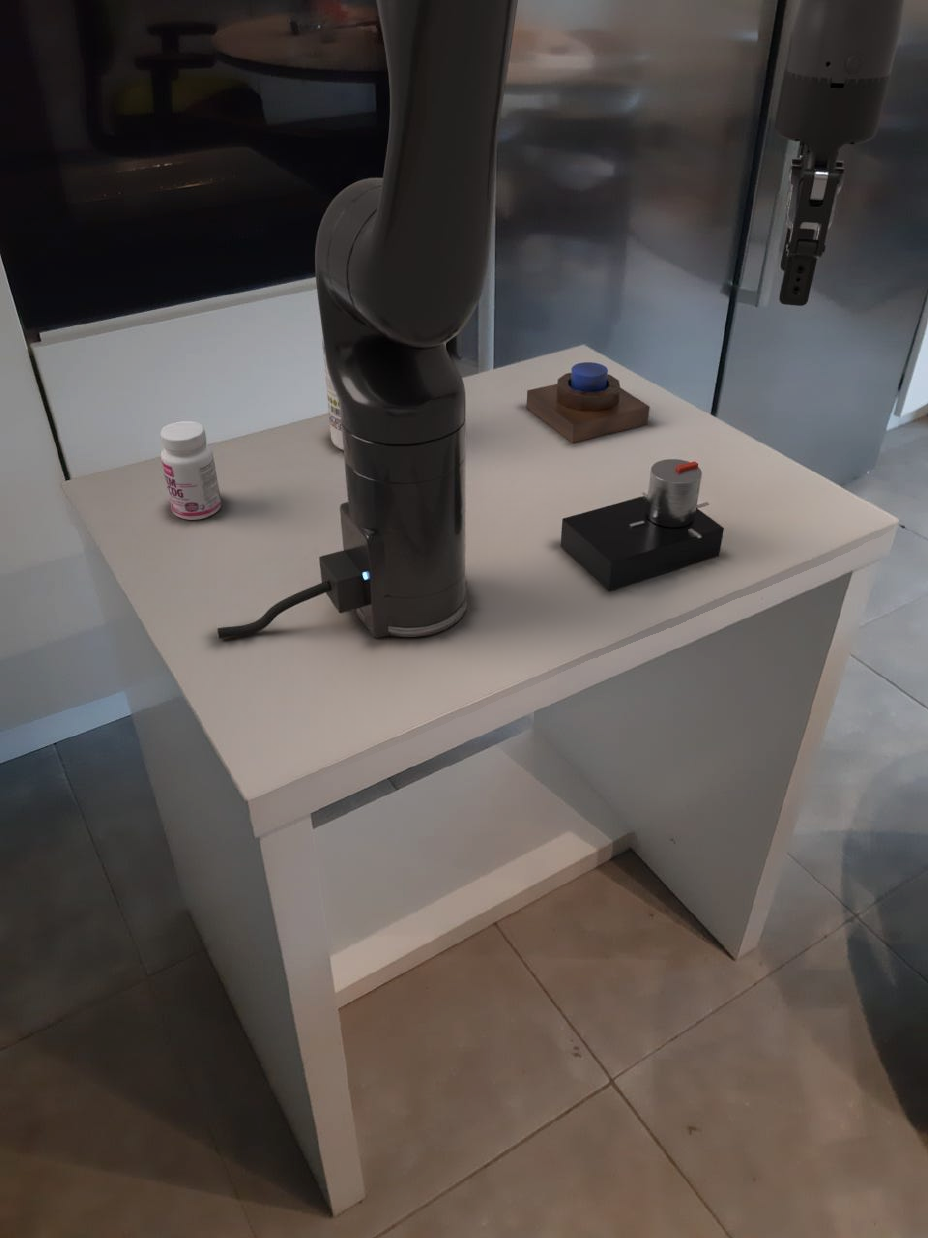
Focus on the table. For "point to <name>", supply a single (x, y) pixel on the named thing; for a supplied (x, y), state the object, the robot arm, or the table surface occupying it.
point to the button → (589, 377)
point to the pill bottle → (189, 471)
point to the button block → (587, 409)
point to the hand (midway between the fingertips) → (792, 286)
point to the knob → (673, 492)
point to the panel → (636, 542)
